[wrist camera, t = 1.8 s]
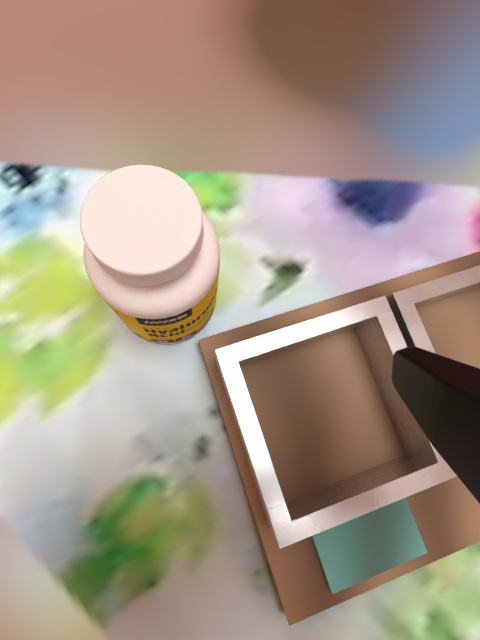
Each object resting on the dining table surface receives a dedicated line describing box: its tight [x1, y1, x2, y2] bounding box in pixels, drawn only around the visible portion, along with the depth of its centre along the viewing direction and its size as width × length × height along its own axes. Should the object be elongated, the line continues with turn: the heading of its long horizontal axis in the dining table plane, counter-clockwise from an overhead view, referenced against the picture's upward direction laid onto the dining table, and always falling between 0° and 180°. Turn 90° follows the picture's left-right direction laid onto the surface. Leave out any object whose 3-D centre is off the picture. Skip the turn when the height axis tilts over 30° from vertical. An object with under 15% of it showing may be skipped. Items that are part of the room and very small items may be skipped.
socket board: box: [199, 252, 480, 625], centre depth 21 cm, size 19×14×2 cm
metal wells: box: [215, 265, 480, 549], centre depth 19 cm, size 18×9×3 cm, turn 109°
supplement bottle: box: [80, 165, 220, 344], centre depth 17 cm, size 5×5×10 cm
